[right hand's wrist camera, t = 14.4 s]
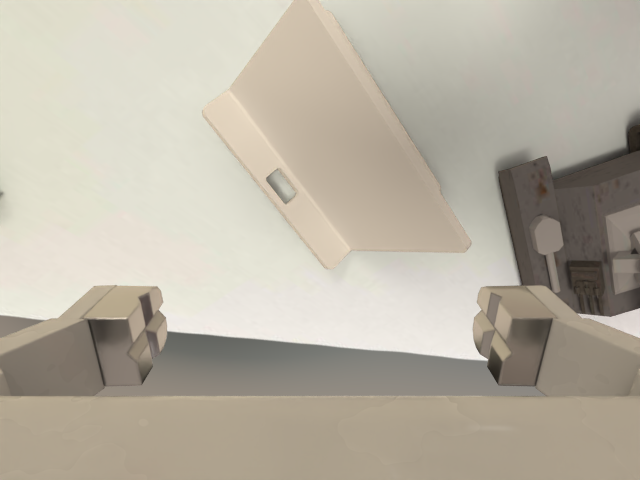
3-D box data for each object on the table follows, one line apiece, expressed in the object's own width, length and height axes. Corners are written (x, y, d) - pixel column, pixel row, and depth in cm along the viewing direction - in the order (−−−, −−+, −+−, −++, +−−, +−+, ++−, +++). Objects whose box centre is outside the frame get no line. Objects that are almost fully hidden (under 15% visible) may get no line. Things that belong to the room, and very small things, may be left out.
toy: (491, 161, 49) (559, 191, 35) (660, 100, 47) (805, 107, 33) (528, 323, 58) (594, 399, 44) (672, 279, 55) (790, 345, 41)
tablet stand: (327, 7, 43) (330, -37, 27) (442, 188, 51) (497, 236, 35) (204, 110, 47) (144, 124, 31) (327, 264, 54) (329, 338, 39)
